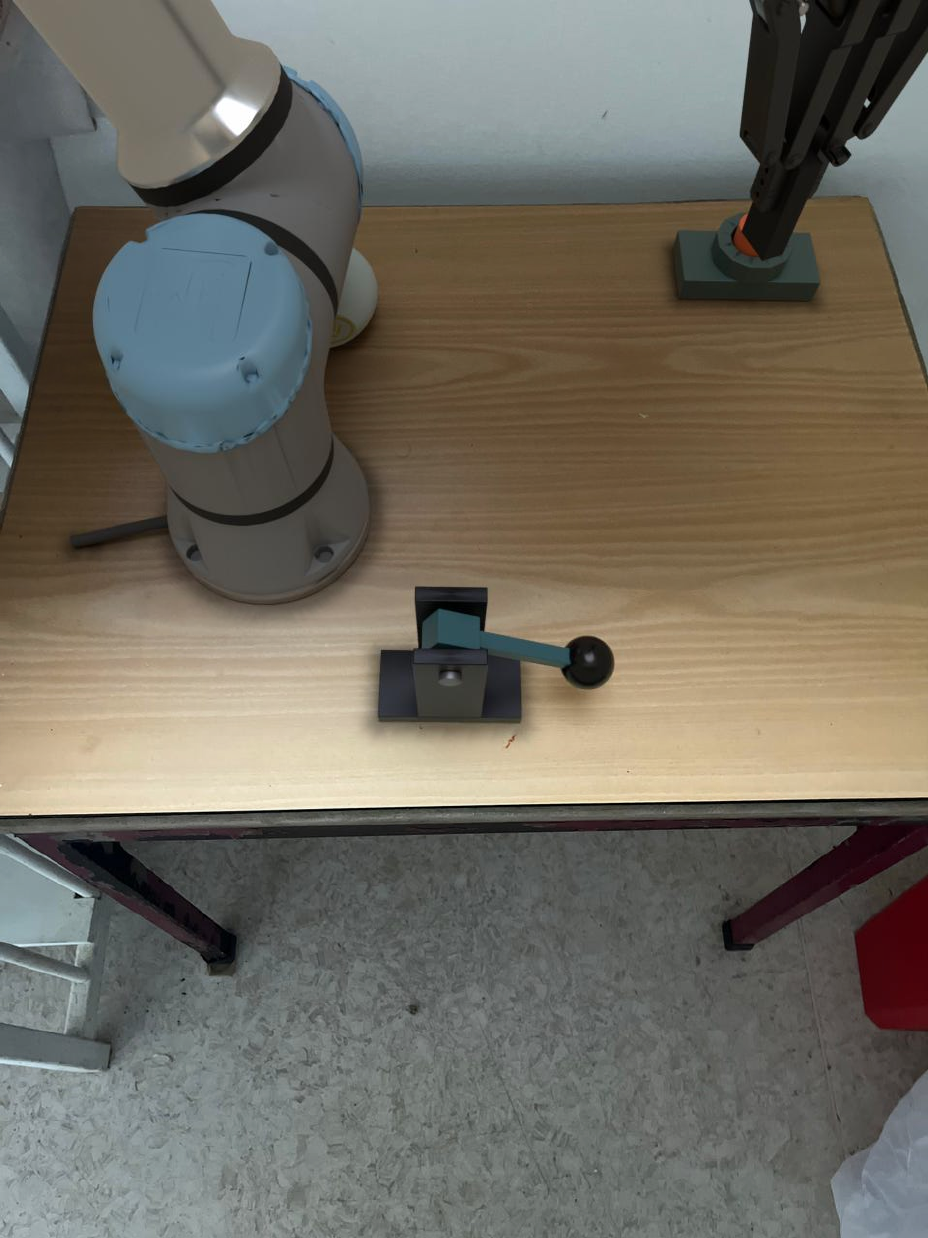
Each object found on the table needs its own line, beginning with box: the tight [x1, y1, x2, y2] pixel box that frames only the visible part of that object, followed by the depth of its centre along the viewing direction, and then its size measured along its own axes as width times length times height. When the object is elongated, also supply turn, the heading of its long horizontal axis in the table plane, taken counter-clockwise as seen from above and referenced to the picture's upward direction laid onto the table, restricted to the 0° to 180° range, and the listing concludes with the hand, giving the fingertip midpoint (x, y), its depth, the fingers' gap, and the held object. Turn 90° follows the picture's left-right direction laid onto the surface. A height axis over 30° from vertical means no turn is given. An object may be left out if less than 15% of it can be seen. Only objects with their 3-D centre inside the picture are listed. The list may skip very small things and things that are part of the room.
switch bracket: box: [377, 585, 522, 724], centre depth 56 cm, size 10×6×12 cm, turn 90°
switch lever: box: [422, 609, 616, 691], centre depth 54 cm, size 13×4×4 cm, turn 90°
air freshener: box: [329, 247, 379, 349], centre depth 70 cm, size 11×8×10 cm
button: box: [733, 214, 759, 257], centre depth 73 cm, size 4×4×2 cm
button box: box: [671, 211, 821, 302], centre depth 75 cm, size 12×6×4 cm, turn 90°
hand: (761, 242), depth 54 cm, fingers closed
